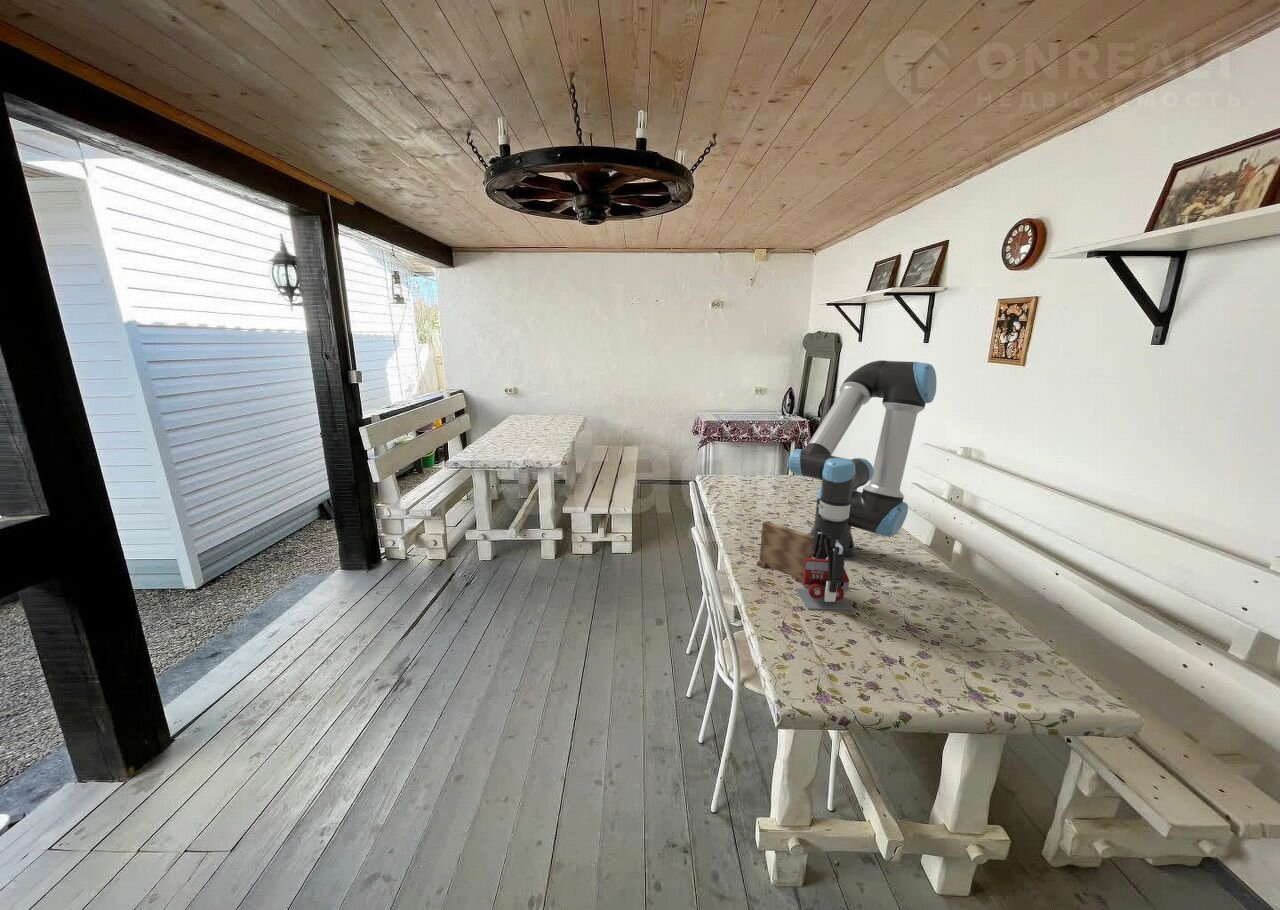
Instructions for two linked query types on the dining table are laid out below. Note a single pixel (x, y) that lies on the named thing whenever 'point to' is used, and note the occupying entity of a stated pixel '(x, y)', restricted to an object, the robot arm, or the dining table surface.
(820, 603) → the mat
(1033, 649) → the dining table surface
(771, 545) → the screen
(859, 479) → the robot arm
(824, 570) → the toy fire truck
